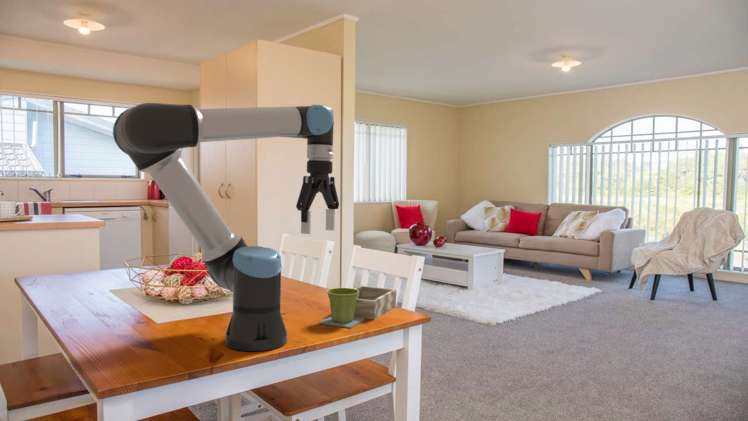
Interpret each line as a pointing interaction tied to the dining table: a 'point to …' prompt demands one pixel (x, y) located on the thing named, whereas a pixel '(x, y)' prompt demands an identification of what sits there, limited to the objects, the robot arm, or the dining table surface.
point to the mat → (346, 325)
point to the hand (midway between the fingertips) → (318, 232)
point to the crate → (373, 301)
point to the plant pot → (342, 304)
